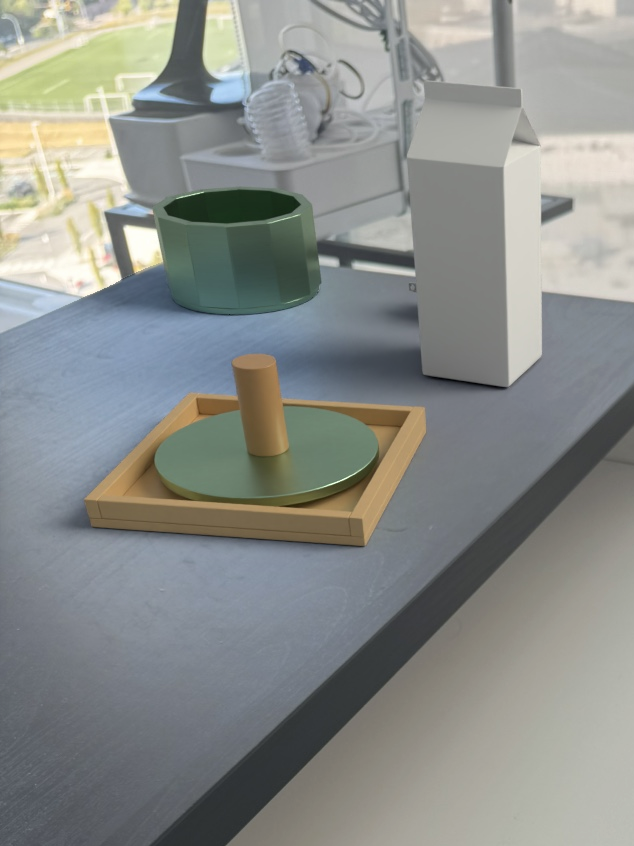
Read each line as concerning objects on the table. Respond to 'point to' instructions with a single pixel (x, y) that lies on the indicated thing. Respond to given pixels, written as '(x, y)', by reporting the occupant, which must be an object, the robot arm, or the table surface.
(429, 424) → the table surface
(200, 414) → the tray
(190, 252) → the tin
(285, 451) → the lid
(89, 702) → the table surface
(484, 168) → the milk carton
